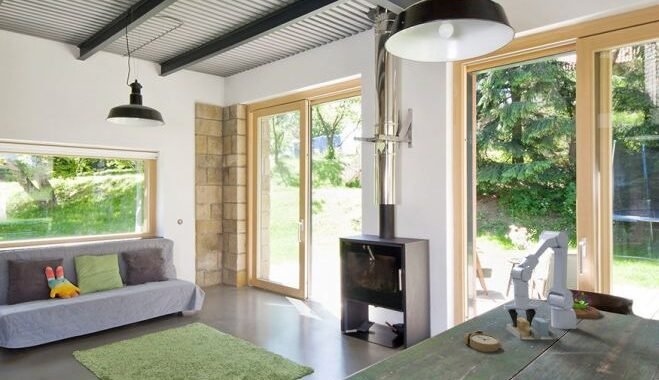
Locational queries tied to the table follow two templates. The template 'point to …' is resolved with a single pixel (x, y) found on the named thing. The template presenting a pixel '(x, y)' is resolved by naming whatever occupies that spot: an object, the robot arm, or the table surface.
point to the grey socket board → (531, 333)
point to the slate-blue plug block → (541, 326)
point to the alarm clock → (482, 341)
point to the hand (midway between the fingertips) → (521, 326)
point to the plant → (584, 309)
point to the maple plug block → (523, 327)
